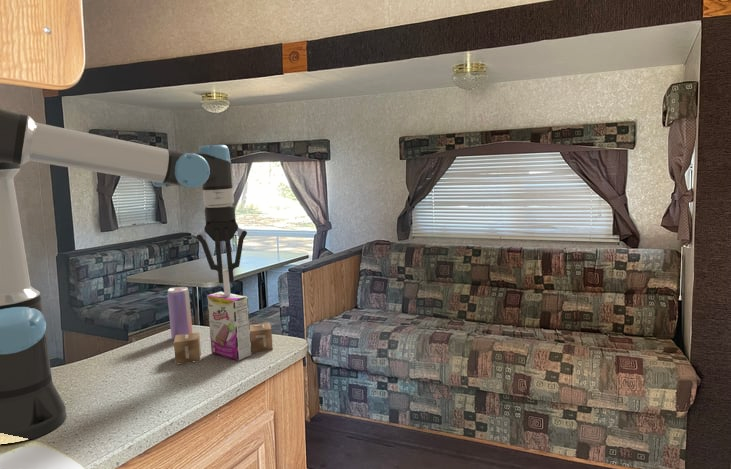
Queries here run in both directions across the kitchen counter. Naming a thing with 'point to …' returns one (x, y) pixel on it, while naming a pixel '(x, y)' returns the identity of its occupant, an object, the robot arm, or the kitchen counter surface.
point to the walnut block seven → (261, 337)
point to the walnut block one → (187, 348)
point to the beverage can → (179, 311)
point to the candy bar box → (229, 325)
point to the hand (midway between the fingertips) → (227, 294)
